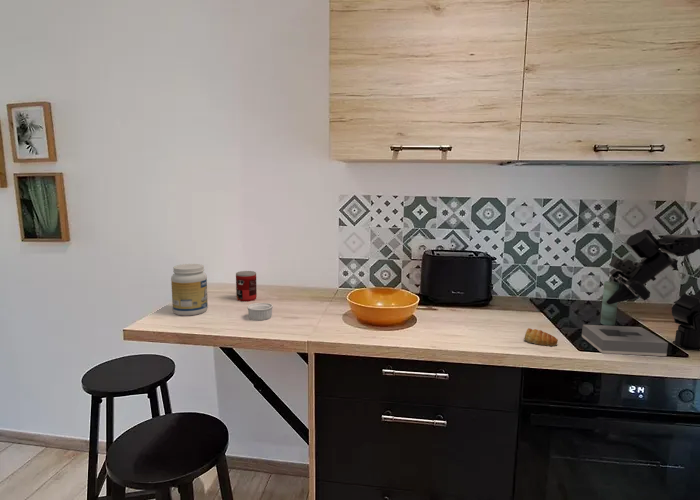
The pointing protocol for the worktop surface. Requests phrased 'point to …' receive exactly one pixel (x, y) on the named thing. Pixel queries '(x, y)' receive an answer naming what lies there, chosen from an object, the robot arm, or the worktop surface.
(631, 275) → the robot arm
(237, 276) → the canned food
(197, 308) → the supplement tub
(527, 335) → the pastry
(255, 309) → the ramekin
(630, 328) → the keyhole plate
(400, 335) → the worktop surface
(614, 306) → the teal post
